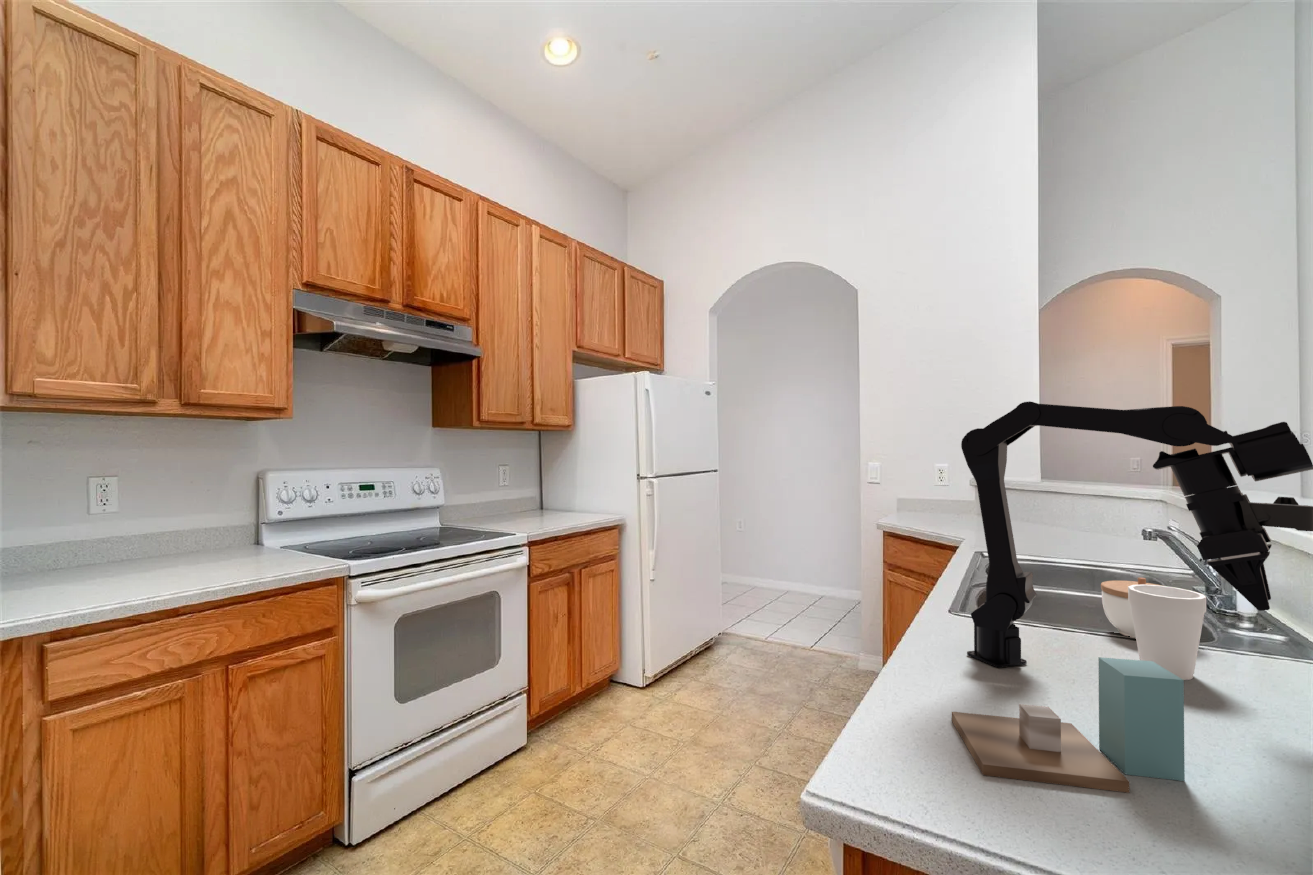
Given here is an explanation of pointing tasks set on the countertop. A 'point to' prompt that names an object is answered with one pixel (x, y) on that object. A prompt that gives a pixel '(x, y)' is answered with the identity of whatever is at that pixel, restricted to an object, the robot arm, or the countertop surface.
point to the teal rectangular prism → (1141, 718)
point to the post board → (1036, 749)
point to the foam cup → (1168, 626)
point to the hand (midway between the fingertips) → (1265, 605)
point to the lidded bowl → (1120, 604)
